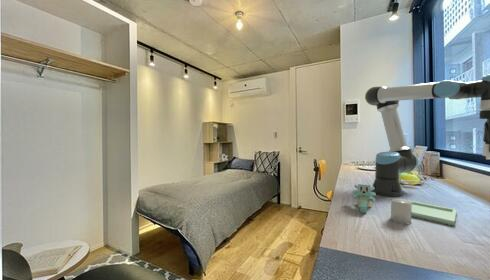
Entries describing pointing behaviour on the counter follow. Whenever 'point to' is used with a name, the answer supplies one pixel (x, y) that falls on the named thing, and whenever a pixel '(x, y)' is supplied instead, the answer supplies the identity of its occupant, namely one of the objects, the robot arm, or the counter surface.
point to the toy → (364, 196)
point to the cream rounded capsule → (401, 210)
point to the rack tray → (434, 213)
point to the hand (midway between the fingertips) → (488, 157)
